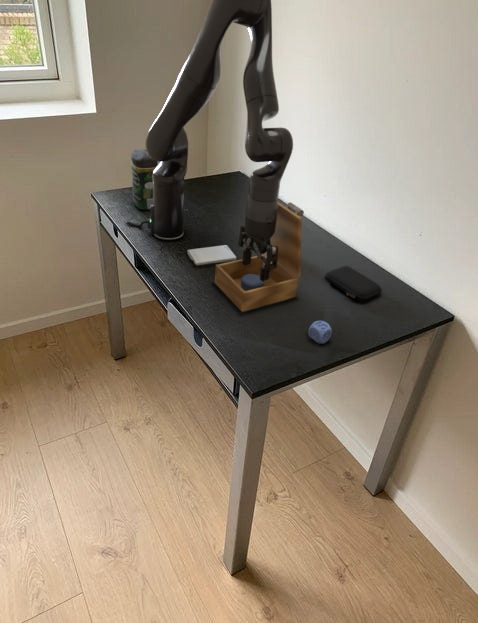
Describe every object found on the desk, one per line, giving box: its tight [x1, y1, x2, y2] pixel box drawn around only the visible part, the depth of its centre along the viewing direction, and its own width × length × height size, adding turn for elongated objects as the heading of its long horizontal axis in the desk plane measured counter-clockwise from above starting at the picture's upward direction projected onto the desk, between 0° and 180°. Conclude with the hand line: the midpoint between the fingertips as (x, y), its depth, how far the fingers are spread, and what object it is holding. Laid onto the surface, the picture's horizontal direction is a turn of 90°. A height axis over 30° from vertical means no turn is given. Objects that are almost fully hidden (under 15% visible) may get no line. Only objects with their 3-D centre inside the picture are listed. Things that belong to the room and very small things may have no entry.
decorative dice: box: [307, 320, 333, 345], centre depth 114 cm, size 4×4×4 cm
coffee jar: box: [130, 148, 159, 211], centre depth 162 cm, size 10×8×19 cm
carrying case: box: [325, 265, 383, 302], centre depth 134 cm, size 11×3×15 cm
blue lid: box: [241, 274, 264, 291], centre depth 127 cm, size 6×6×4 cm
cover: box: [270, 201, 305, 279], centre depth 124 cm, size 17×15×5 cm
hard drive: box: [186, 244, 238, 266], centre depth 142 cm, size 2×8×12 cm
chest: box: [214, 253, 300, 313], centre depth 128 cm, size 17×15×6 cm
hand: (255, 272), depth 125 cm, fingers open, 8 cm apart
